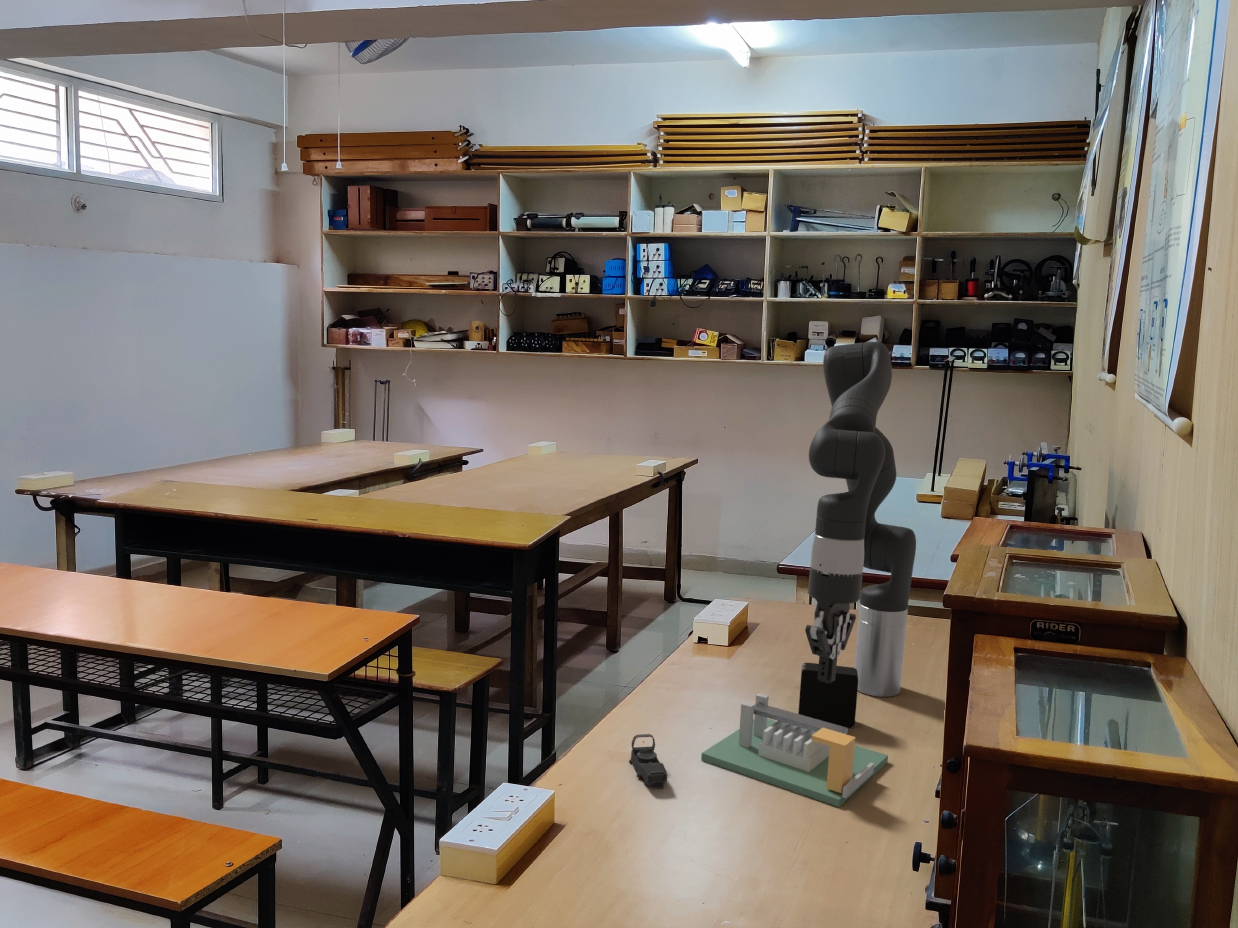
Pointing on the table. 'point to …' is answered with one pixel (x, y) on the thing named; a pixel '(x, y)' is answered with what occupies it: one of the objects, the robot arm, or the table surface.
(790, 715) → the strap
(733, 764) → the slotted rack on board
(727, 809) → the table surface
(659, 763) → the reflex sight
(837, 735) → the clip
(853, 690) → the electronic device
